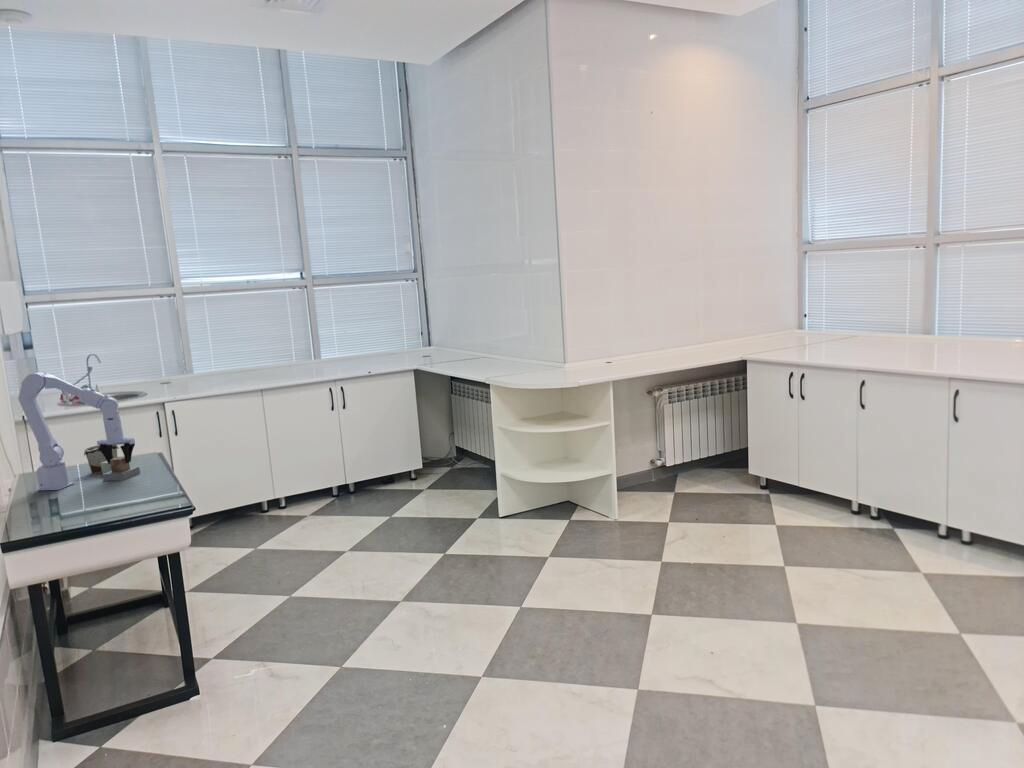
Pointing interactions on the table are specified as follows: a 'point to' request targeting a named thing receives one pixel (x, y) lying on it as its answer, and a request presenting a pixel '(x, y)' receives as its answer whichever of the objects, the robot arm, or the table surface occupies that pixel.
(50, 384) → the robot arm
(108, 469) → the sage block
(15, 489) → the table surface
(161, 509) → the table surface
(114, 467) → the walnut block
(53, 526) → the table surface
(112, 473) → the base block
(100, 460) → the food container
